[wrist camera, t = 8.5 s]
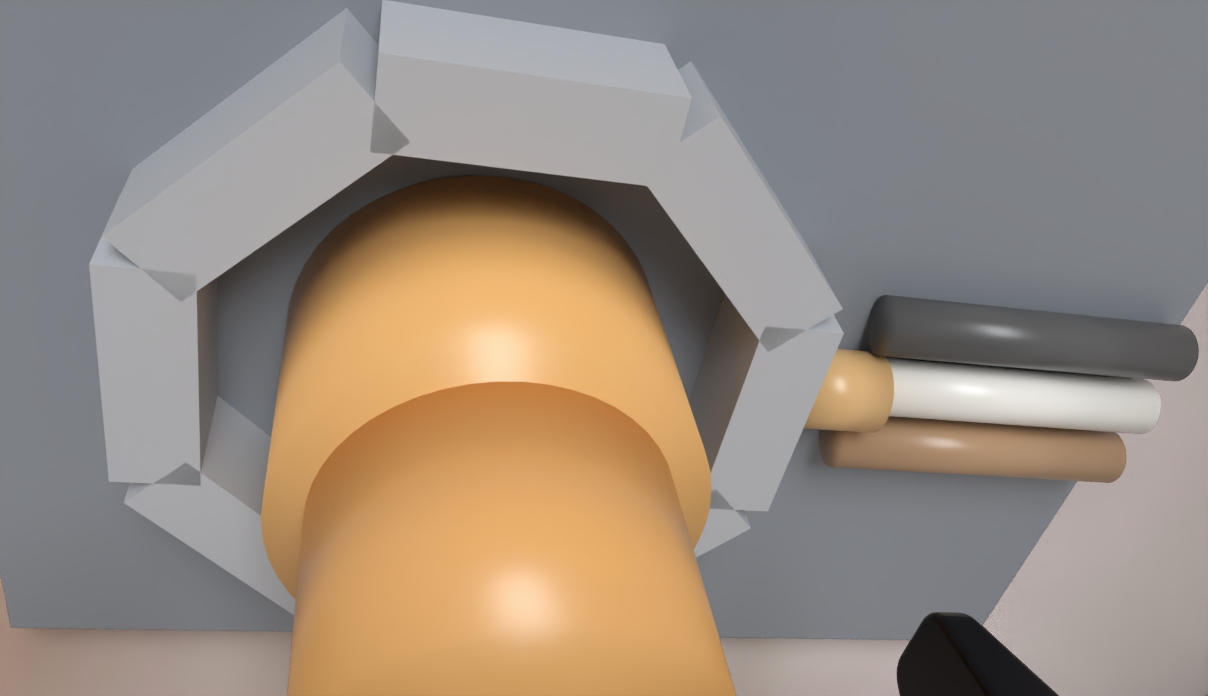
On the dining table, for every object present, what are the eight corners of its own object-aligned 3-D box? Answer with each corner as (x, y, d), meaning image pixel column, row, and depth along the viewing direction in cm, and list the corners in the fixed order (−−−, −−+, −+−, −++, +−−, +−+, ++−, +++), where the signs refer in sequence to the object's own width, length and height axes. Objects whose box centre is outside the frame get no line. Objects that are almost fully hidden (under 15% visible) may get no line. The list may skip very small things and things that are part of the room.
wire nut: (691, 196, 12) (869, 596, 8) (612, 473, 15) (709, 893, 10) (291, 154, 11) (219, 591, 7) (282, 460, 14) (227, 925, 9)
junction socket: (1356, -19, 13) (1489, 43, 11) (959, 614, 20) (1006, 707, 18) (-139, -331, 9) (-257, -304, 7) (22, 594, 16) (-21, 711, 14)
